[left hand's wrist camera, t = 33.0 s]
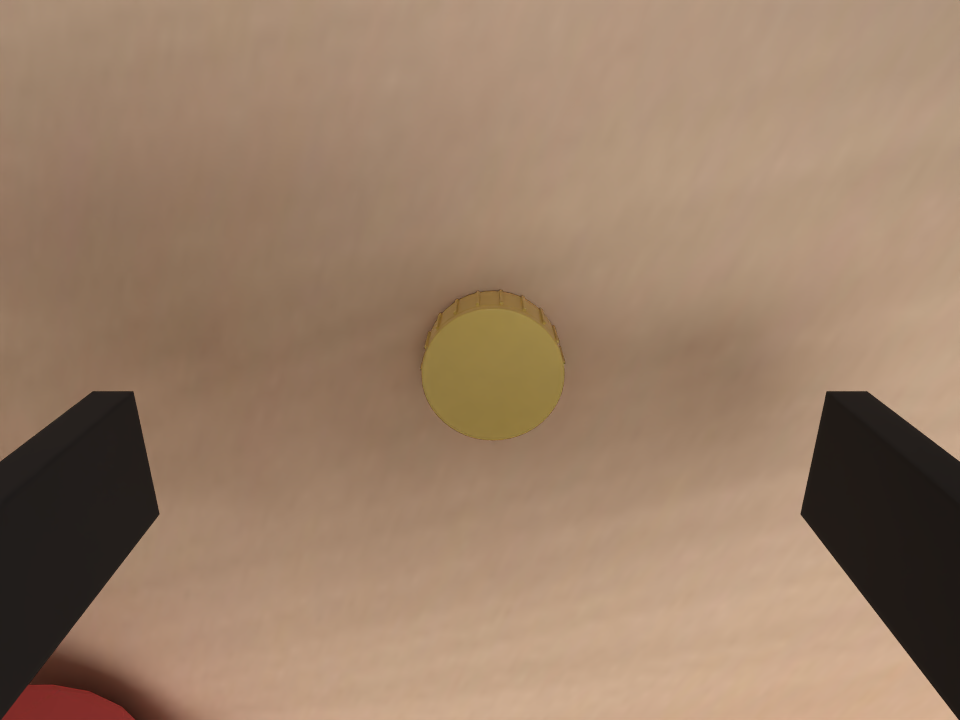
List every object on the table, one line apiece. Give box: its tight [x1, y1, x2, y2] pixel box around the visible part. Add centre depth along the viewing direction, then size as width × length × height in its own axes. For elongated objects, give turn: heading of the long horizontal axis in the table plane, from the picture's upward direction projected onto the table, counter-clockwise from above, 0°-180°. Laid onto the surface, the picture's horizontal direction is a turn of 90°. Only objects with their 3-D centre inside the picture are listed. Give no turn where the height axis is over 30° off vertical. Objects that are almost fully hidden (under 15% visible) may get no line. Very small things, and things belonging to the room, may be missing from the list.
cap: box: [421, 290, 565, 440], centre depth 18 cm, size 4×4×2 cm
